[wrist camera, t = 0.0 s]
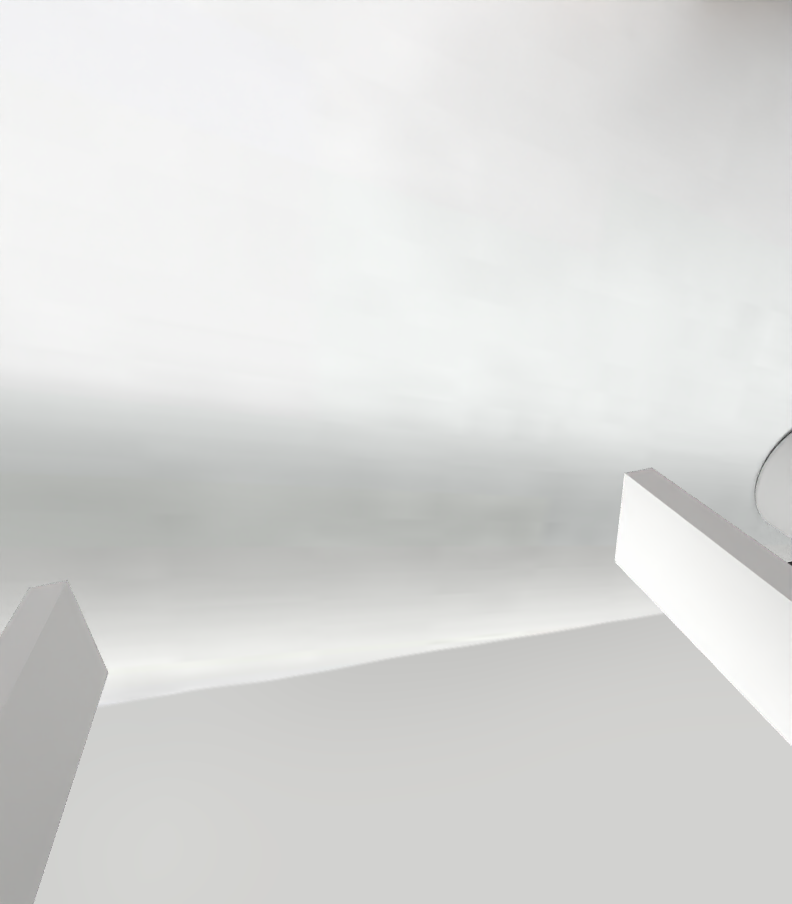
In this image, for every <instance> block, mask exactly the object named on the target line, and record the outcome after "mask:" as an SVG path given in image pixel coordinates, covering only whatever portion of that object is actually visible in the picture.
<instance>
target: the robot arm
mask: <svg viewBox="0 0 792 904" xmlns="http://www.w3.org/2000/svg"><path fill="white" fill-rule="evenodd" d="M615 562H616V563H617V564H618V565H619V566H620V567H621V569H622V570H623V571H624V572H625V573H626V574H627V575H628V576H629V577H630V578H631V579H632V580H633V581H634V582H635V583H636V584H637V585H638V586H639V587H640V588H641V589H642V590H643V592H644V593H645V594H646V595H647V596H648V597H649V598H650V599H651V600H652V601H653V602H654V603H655V604H656V605H657V606H658V607H659V608H660V609H661V610H662V611H663V612H664V613H665V614H666V615H667V617H668V618H669V619H670V620H672V622H673V623H674V624H675V625H676V626H677V627H678V628H679V629H680V630H681V631H682V632H683V633H684V634H685V635H686V636H687V637H688V638H689V640H690V641H691V642H692V643H693V644H694V645H695V646H696V647H697V648H698V649H699V650H700V651H701V652H702V653H703V654H704V655H705V656H706V657H707V658H708V659H709V660H710V661H711V662H712V664H714V665H715V666H716V668H717V669H718V670H719V671H720V672H721V673H722V674H723V675H724V676H725V677H726V678H727V679H728V680H729V681H730V682H731V683H732V684H733V685H734V686H735V687H736V688H737V690H739V692H740V693H741V694H742V695H743V696H744V697H745V698H746V699H747V700H748V701H749V702H750V703H751V704H752V705H753V706H754V707H755V708H756V709H757V710H758V711H759V713H761V715H762V716H763V717H764V718H765V719H766V720H767V721H768V722H769V723H770V724H771V725H772V726H773V727H774V728H775V729H776V730H777V731H778V732H779V733H780V734H781V735H782V737H783V738H784V739H785V740H786V741H787V742H788V743H789V744H790V745H791V746H792V562H788V563H787V562H786V561H784V560H783V559H781V558H780V557H778V556H777V555H776V554H774V553H773V552H771V551H770V550H769V549H767V548H766V547H764V546H763V545H761V544H760V543H759V542H757V541H756V540H754V539H753V538H751V537H750V536H749V535H747V534H746V533H744V532H743V531H741V530H740V529H739V528H737V527H736V526H734V525H733V524H732V523H730V522H729V521H727V520H726V519H724V518H723V517H722V516H720V515H719V514H717V513H716V512H714V511H713V510H712V509H710V508H709V507H707V506H706V505H704V504H703V503H702V502H700V501H699V500H697V499H696V498H694V497H693V496H692V495H690V494H689V493H687V492H686V491H685V490H683V489H682V488H680V487H679V486H677V485H676V484H675V483H673V482H672V481H670V480H669V479H667V478H666V477H665V476H663V475H662V474H660V473H659V472H657V471H656V470H655V469H653V468H648V469H643V470H638V471H632V472H627V473H625V474H624V483H623V492H622V501H621V510H620V519H619V528H618V537H617V546H616V555H615ZM107 675H108V671H107V669H106V666H105V664H104V662H103V660H102V657H101V655H100V653H99V650H98V648H97V646H96V644H95V641H94V639H93V637H92V635H91V632H90V630H89V628H88V625H87V623H86V621H85V619H84V616H83V614H82V612H81V609H80V607H79V605H78V603H77V600H76V598H75V596H74V594H73V591H72V589H71V587H70V584H69V582H68V580H67V581H61V582H56V583H51V584H46V585H41V586H35V587H30V588H29V589H28V590H27V592H26V594H25V595H24V597H23V599H22V601H21V602H20V604H19V606H18V607H17V609H16V611H15V612H14V614H13V616H12V617H11V619H10V621H9V622H8V624H7V626H6V627H5V629H4V631H3V632H2V634H1V636H0V904H33V903H34V900H35V897H36V894H37V891H38V888H39V885H40V882H41V878H42V876H43V872H44V869H45V866H46V863H47V860H48V857H49V854H50V851H51V848H52V845H53V842H54V838H55V835H56V832H57V829H58V826H59V823H60V820H61V817H62V813H63V811H64V808H65V805H66V801H67V798H68V795H69V792H70V789H71V786H72V783H73V780H74V777H75V773H76V771H77V768H78V765H79V761H80V758H81V755H82V752H83V749H84V746H85V743H86V740H87V737H88V734H89V731H90V728H91V724H92V721H93V718H94V715H95V712H96V709H97V706H98V703H99V700H100V697H101V694H102V691H103V687H104V684H105V681H106V678H107Z"/></svg>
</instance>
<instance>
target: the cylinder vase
mask: <svg viewBox="0 0 792 904" xmlns="http://www.w3.org/2000/svg"><path fill="white" fill-rule="evenodd" d="M755 501H756V506H757V509H758V511H759V513H760V515H761V517H762V518H763V519H764V520H765V521H766V522H767V523H768V524H769V525H771V526H772V527H774V528H775V529H777V530H778V531H780V532H781V533H783V534H784V535H786V536H787V537H789V538H791V539H792V433H790V434H789V435H788V436H787V437H786V438H785V439H783V440H782V441H781V442H780V443H779V444H778V446H777V447H776V448H775V449H774V450H773V451H772V453H771V454H770V456H769V457H768V459H767V460H766V462H765V463H764V465H763V467H762V469H761V472H760V474H759V477H758V480H757V484H756V490H755Z"/></svg>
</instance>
